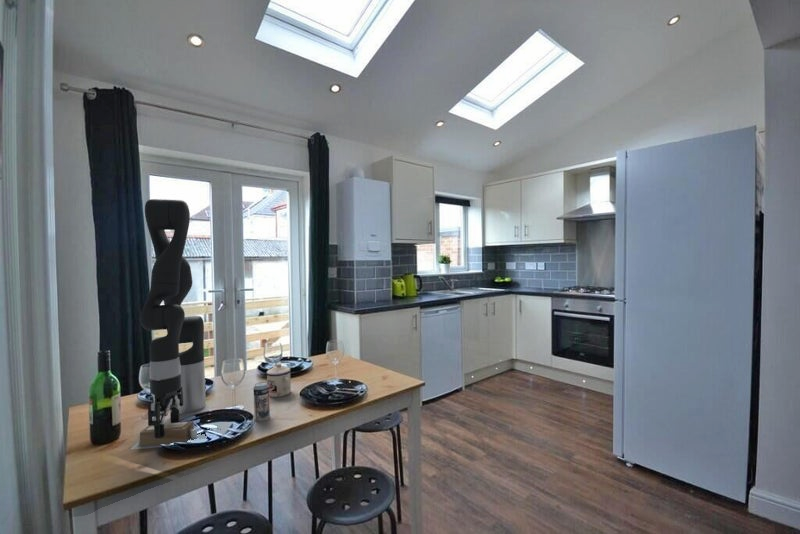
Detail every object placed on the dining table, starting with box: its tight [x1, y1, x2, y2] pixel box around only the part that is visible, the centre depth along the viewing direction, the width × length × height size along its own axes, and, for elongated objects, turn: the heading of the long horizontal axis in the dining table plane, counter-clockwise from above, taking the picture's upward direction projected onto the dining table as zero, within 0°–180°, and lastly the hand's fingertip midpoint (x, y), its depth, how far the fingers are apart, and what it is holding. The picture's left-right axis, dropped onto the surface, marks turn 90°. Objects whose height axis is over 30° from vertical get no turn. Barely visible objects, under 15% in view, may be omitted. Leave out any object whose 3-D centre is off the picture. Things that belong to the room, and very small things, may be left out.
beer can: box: [253, 381, 271, 422], centre depth 117 cm, size 5×5×12 cm
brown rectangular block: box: [139, 421, 195, 447], centre depth 103 cm, size 5×12×4 cm, turn 97°
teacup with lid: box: [266, 363, 292, 398], centre depth 141 cm, size 12×9×12 cm
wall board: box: [129, 421, 234, 451], centre depth 106 cm, size 13×23×4 cm, turn 97°
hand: (167, 430), depth 103 cm, fingers open, 8 cm apart
